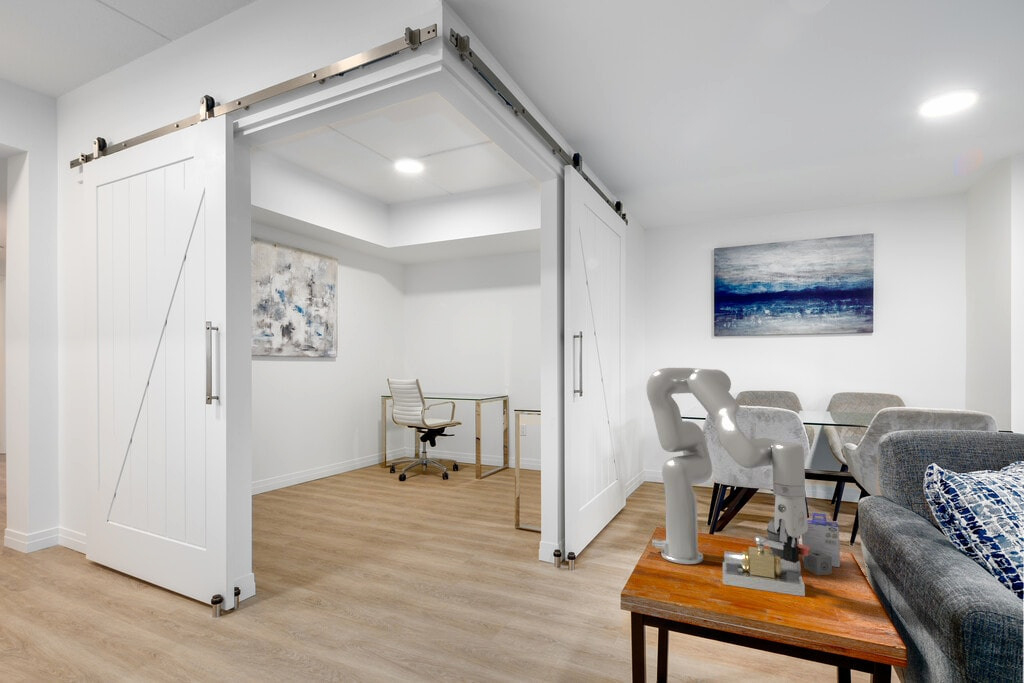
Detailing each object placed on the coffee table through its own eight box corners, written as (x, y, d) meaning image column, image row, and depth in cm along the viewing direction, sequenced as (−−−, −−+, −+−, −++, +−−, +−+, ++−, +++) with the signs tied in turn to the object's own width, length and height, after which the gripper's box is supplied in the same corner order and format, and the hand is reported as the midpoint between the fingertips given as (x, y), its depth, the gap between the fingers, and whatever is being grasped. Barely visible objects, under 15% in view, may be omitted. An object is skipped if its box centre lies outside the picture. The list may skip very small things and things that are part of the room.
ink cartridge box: (838, 561, 159) (837, 514, 160) (841, 568, 154) (839, 519, 155) (801, 556, 163) (800, 510, 164) (803, 562, 158) (802, 515, 159)
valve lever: (753, 543, 144) (753, 537, 144) (757, 540, 146) (757, 534, 146) (806, 556, 134) (806, 549, 135) (810, 553, 137) (810, 546, 137)
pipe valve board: (722, 584, 143) (722, 544, 144) (722, 572, 151) (722, 534, 152) (804, 596, 136) (803, 554, 136) (800, 583, 144) (799, 543, 144)
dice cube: (804, 568, 154) (803, 551, 154) (818, 567, 155) (818, 550, 155) (817, 575, 149) (816, 557, 149) (831, 574, 150) (831, 556, 150)
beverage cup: (788, 566, 156) (787, 499, 156) (799, 576, 148) (798, 506, 149) (763, 565, 156) (762, 498, 157) (773, 575, 149) (772, 505, 150)
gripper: (792, 497, 128) (795, 572, 127) (815, 488, 138) (817, 557, 137) (762, 492, 134) (764, 564, 133) (785, 483, 144) (787, 550, 143)
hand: (791, 560), depth 135 cm, fingers closed
